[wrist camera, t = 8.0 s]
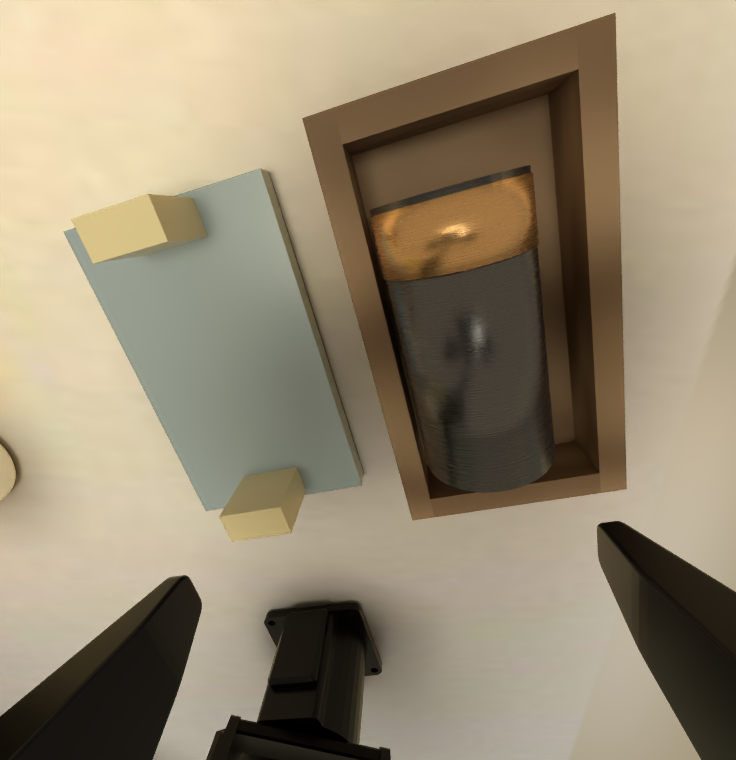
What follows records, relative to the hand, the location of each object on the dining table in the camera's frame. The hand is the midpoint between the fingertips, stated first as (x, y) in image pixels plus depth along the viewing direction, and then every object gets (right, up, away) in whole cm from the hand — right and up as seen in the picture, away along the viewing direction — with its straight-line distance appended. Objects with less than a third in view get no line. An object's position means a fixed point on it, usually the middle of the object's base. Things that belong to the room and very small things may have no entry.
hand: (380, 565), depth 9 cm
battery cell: (+4, +7, +8) cm, 11 cm away
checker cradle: (-7, +5, +11) cm, 14 cm away
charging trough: (+4, +7, +9) cm, 12 cm away
